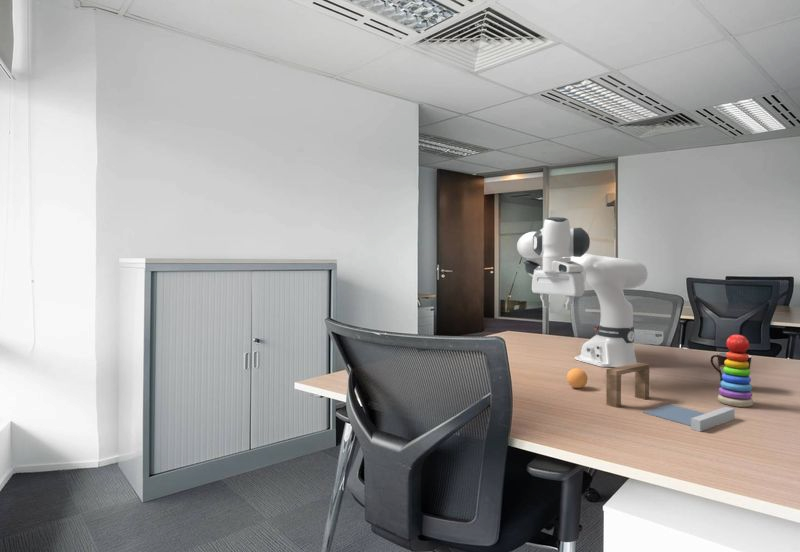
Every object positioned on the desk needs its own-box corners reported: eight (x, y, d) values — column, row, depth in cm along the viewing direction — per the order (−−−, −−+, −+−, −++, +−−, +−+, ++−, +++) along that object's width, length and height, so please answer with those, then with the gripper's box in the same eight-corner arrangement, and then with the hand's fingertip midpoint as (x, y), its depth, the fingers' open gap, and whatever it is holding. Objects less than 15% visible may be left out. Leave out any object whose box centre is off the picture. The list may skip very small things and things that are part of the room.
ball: (562, 387, 149) (562, 367, 149) (575, 384, 153) (575, 365, 152) (578, 391, 144) (578, 371, 144) (591, 388, 147) (591, 369, 147)
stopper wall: (691, 429, 112) (691, 418, 112) (725, 416, 120) (725, 406, 120) (700, 431, 110) (700, 420, 110) (734, 418, 118) (734, 408, 118)
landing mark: (642, 412, 124) (642, 411, 124) (669, 404, 130) (669, 404, 130) (691, 426, 114) (691, 425, 114) (717, 417, 120) (717, 416, 120)
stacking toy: (743, 409, 126) (744, 338, 125) (711, 401, 133) (712, 334, 132) (759, 405, 129) (760, 335, 129) (727, 397, 136) (728, 331, 136)
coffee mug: (757, 392, 141) (757, 358, 141) (724, 390, 143) (724, 357, 143) (737, 382, 153) (738, 350, 152) (707, 381, 154) (708, 350, 154)
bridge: (606, 404, 131) (606, 369, 131) (639, 395, 139) (639, 362, 139) (616, 407, 129) (616, 371, 128) (649, 398, 137) (649, 364, 136)
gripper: (527, 266, 166) (527, 306, 166) (573, 266, 148) (573, 311, 148) (541, 266, 169) (541, 305, 169) (587, 266, 150) (587, 310, 151)
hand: (556, 308), depth 158 cm, fingers open, 8 cm apart
